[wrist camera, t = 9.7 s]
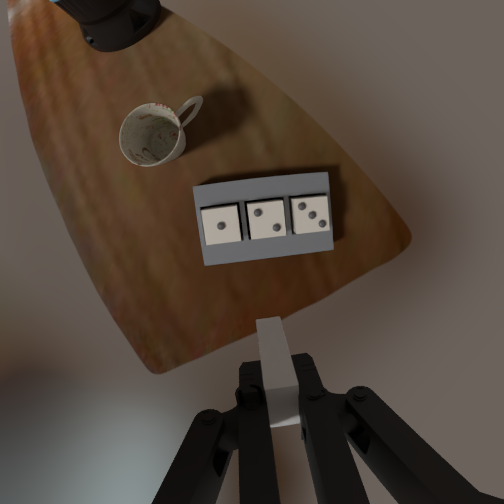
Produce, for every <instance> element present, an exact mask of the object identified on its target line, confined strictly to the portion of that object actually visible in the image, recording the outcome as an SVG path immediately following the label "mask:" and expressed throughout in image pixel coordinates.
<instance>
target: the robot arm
mask: <svg viewBox="0 0 504 504" xmlns="http://www.w3.org/2000/svg"><path fill="white" fill-rule="evenodd" d="M50 1H51V2H54V3H55V4H56V5H57V6H59V7H60V8H61V9H62V10H64V11H65V12H66V13H67V14H69V15H70V16H71V17H72V18H73V19H75V20H76V21H77V22H78V23H79V26H80V29H81V32H82V35H83V38H84V40H85V41H86V42H87V44H89V45H90V46H91V47H92V48H94V49H95V50H98V51H101V52H113V51H118V50H121V49H124V48H126V47H129V46H131V45H133V44H134V43H136V42H137V41H139V40H140V39H142V38H143V37H144V36H145V35H146V34H147V33H148V32H149V31H150V30H151V29H152V28H153V27H154V25H155V24H156V22H157V20H158V18H159V16H160V12H161V4H160V1H159V0H50ZM256 325H257V334H258V342H259V350H260V359H261V360H259V361H251V362H243V363H242V365H241V366H240V368H239V387H238V388H237V390H236V392H235V396H236V400H237V406H236V407H234V408H233V409H231V410H229V411H227V412H224V413H220V412H219V411H217V410H214V409H207V410H204V411H201V412H200V413H198V414H197V415H196V416H195V418H194V420H193V422H192V424H191V426H190V428H189V430H188V432H187V434H186V436H185V439H184V440H183V442H182V445H181V446H180V448H179V450H178V453H177V455H176V456H175V458H174V460H173V463H172V464H171V466H170V469H169V470H168V472H167V474H166V476H165V478H164V480H163V482H162V484H161V486H160V488H159V490H158V492H157V494H156V496H155V498H154V500H153V502H152V504H215V503H216V500H217V498H218V494H219V491H220V489H221V486H222V483H223V480H224V477H225V474H226V471H227V468H228V465H229V462H230V459H231V456H232V453H233V450H236V449H239V490H240V491H239V493H240V504H281V502H280V495H279V488H278V481H277V474H276V465H275V459H274V451H273V443H272V436H271V428H270V427H277V426H284V425H290V424H297V423H300V421H301V431H302V432H301V433H302V439H303V440H304V444H305V449H306V453H307V457H308V461H309V466H310V470H311V475H312V479H313V484H314V488H315V493H316V497H317V501H318V504H370V503H369V500H368V497H367V494H366V491H365V489H364V486H363V483H362V481H361V478H360V475H359V472H358V469H357V466H356V464H355V461H354V458H353V455H352V453H351V450H350V447H349V445H348V442H349V443H350V444H351V445H352V447H353V448H354V449H355V451H356V452H357V453H358V454H359V456H360V457H361V458H362V459H363V461H364V462H365V463H366V464H367V466H368V467H369V468H370V469H371V471H372V472H373V473H374V474H375V475H376V477H377V478H378V479H379V481H380V482H381V483H382V484H383V486H384V487H385V488H386V489H387V490H388V492H389V493H390V494H391V495H392V496H393V497H394V499H395V500H396V501H397V502H398V504H504V499H500V498H497V497H494V496H491V495H488V494H484V493H482V492H479V491H478V490H477V489H476V488H474V487H473V486H472V485H471V484H470V483H469V482H468V481H467V480H466V479H465V478H464V477H463V476H462V475H460V474H459V473H458V472H457V471H456V470H455V469H454V468H453V467H452V466H451V465H450V464H449V463H448V462H447V461H446V460H445V459H443V458H442V457H441V456H440V455H439V454H438V453H437V452H436V451H435V450H434V449H433V448H432V447H431V446H430V445H429V444H428V443H426V442H425V441H424V440H423V439H422V438H421V437H420V436H419V435H418V434H417V433H416V432H415V431H414V430H413V429H412V428H411V427H410V426H409V425H408V424H407V423H406V422H404V421H403V420H402V419H401V418H400V417H399V416H398V415H397V414H396V413H395V412H394V411H393V410H392V409H391V408H390V407H389V406H388V405H387V404H386V403H384V401H383V400H382V399H381V398H380V397H379V396H377V395H376V393H374V392H373V391H372V390H371V389H370V388H368V387H365V386H356V387H353V388H352V389H350V390H349V391H348V392H347V393H346V394H334V393H330V392H328V391H327V389H325V388H324V387H323V385H322V382H321V379H320V377H319V374H318V372H317V369H316V366H315V365H314V361H313V359H312V357H311V356H310V355H308V354H307V353H302V354H296V355H290V352H289V348H288V344H287V341H286V338H285V334H284V330H283V327H282V323H281V319H280V317H272V318H265V319H258V320H256ZM347 440H348V442H347Z"/></svg>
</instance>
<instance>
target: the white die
mask: <svg viewBox="0 0 504 504" xmlns="http://www.w3.org/2000/svg"><path fill="white" fill-rule="evenodd" d="M247 209H248V218H249V226H250V234H251V240H252V239H261V238H269V237H277V236H285V235H286V226H285V216H284V206H283V200H281V199H272V200H263V201H255V202H247Z"/></svg>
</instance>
